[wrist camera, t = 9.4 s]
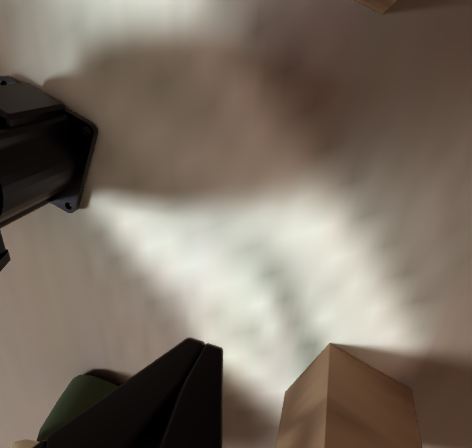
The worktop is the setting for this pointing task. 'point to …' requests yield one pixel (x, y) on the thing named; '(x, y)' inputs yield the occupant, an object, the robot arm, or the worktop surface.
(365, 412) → the numbered block
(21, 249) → the worktop surface
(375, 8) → the numbered block
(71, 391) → the character mug
